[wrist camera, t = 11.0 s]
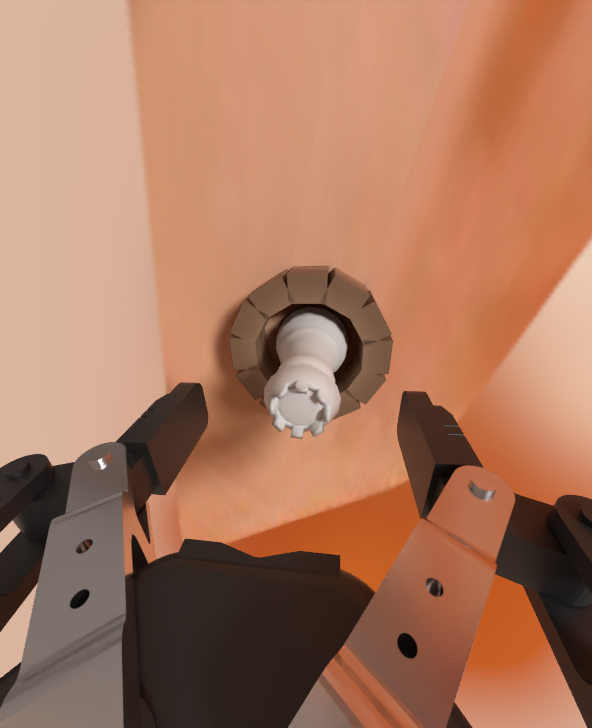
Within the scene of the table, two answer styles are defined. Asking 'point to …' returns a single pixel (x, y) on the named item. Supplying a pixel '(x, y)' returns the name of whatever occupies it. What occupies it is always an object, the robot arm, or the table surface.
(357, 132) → the table surface
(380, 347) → the walnut ring bead
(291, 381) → the rook chess piece
